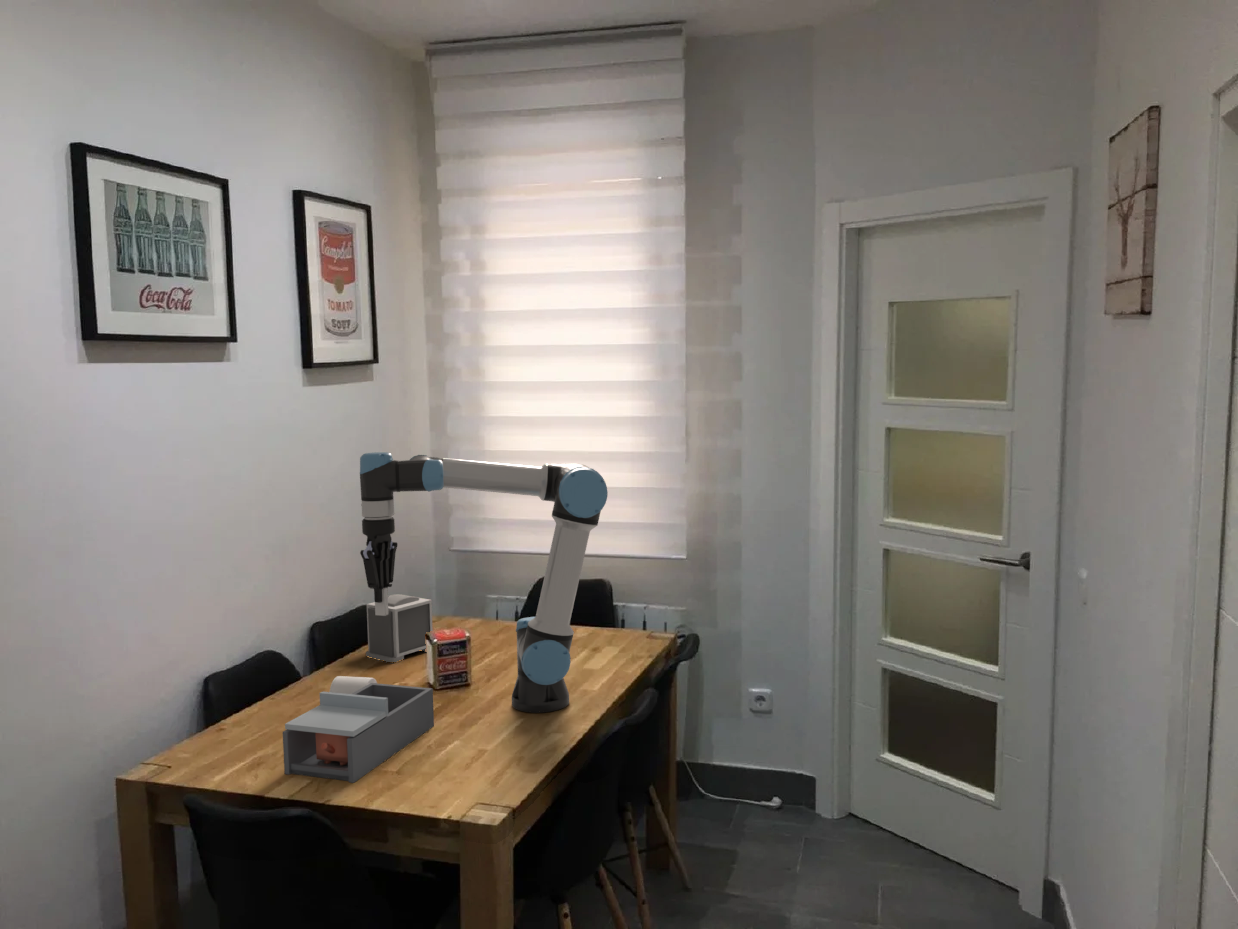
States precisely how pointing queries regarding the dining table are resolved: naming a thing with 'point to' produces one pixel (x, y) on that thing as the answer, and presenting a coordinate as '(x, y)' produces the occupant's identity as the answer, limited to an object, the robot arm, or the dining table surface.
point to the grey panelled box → (398, 627)
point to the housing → (366, 735)
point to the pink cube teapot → (331, 748)
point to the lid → (341, 714)
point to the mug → (349, 684)
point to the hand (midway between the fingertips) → (381, 614)
